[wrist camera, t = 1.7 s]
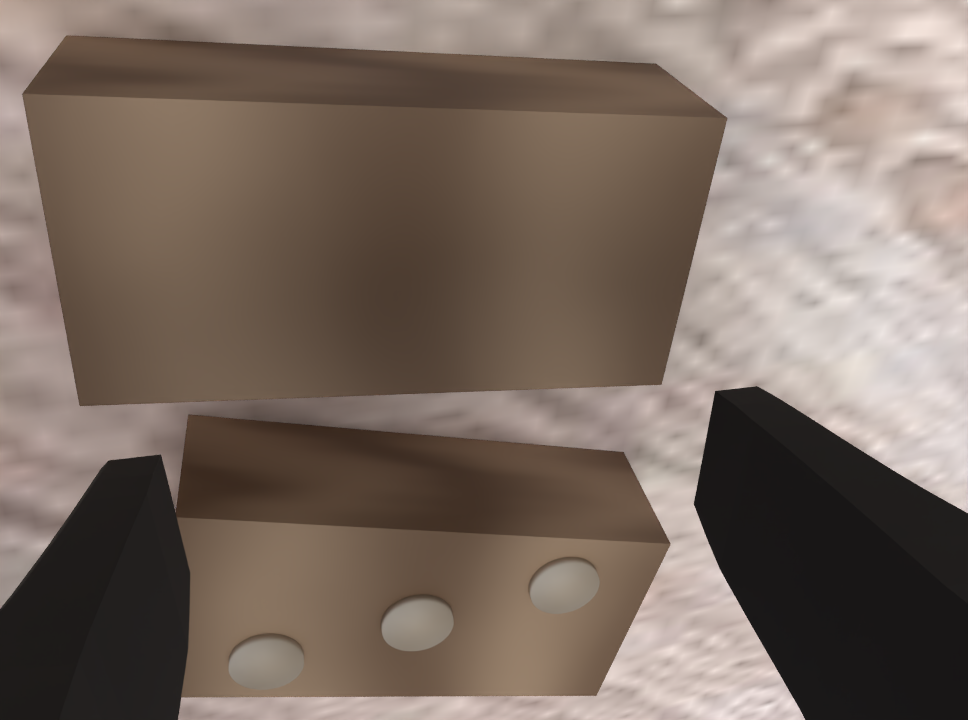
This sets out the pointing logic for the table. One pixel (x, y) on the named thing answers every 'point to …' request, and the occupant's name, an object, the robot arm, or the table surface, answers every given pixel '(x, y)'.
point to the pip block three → (406, 562)
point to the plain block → (363, 218)
